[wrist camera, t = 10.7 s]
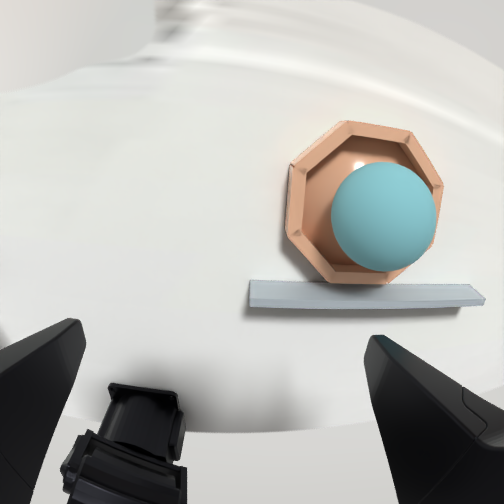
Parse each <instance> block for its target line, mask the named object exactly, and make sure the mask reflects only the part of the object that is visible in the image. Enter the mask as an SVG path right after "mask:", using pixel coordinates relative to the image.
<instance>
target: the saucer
mask: <svg viewBox="0 0 504 504" xmlns="http://www.w3.org/2000/svg"><path fill="white" fill-rule="evenodd" d="M375 162H391V163H395V164H399V165H401V166H404V167H406V168H408V169H410V170H411V171H413V172H414V173H415V174H416V175H418V176H419V177H420V178H421V179H422V180H423V181H424V183H425V184H426V186H427V187H428V189H429V190H430V192H431V194H432V197H433V200H434V203H435V207H436V228H437V223H438V217H439V212H440V206H441V200H442V194H443V188H444V186H443V182H442V180H441V178H440V177H439V175H438V173H437V172H436V170H435V168H434V166H433V165H432V163H431V161H430V160H429V158H428V157H427V155H426V153H425V152H424V150H423V149H422V147H421V145H420V144H419V142H418V141H417V139H416V138H415V136H414V135H413V133H412V132H410V131H407V130H402V129H397V128H391V127H386V126H380V125H374V124H368V123H362V122H355V121H341V122H338V123H337V124H336V125H335V126H334V127H332V128H331V129H330V130H329V131H328V132H326V133H325V134H324V135H323V136H322V137H320V138H319V139H318V140H317V141H316V142H314V143H313V144H312V145H311V146H310V147H308V148H307V149H306V150H305V151H304V152H303V153H301V154H300V155H299V156H298V157H297V158H296V159H294V160H293V161H292V162H291V164H292V165H290V167H289V181H288V194H287V207H286V220H285V230H286V233H287V236H288V238H289V239H290V240H291V241H292V243H293V244H294V245H295V246H296V247H297V248H298V249H299V250H300V251H301V253H302V254H303V255H304V256H305V257H306V258H307V259H308V260H309V261H310V263H311V264H312V265H313V266H314V267H315V268H316V269H317V270H318V272H319V273H320V274H321V275H322V276H323V277H324V278H325V280H326V281H327V282H329V283H343V284H386V283H390V282H391V281H392V280H393V279H394V278H396V277H397V276H398V275H399V274H400V273H402V272H403V271H404V270H405V269H406V268H407V267H409V266H410V265H409V266H407V267H404V268H402V269H399V270H395V271H384V272H383V271H375V270H371V269H368V268H365V267H363V266H361V265H359V264H358V263H356V262H354V261H353V260H352V259H351V258H350V257H348V256H347V254H346V253H345V252H344V251H343V250H342V248H341V247H340V245H339V244H338V242H337V240H336V238H335V235H334V232H333V228H332V223H331V208H332V203H333V199H334V196H335V194H336V191H337V189H338V188H339V186H340V184H341V183H342V182H343V180H344V179H345V178H346V177H347V176H348V175H349V174H350V173H352V172H353V171H354V170H356V169H358V168H359V167H361V166H364V165H366V164H370V163H375ZM435 233H436V229H435ZM435 233H434V236H433V239H432V241H431V243H430V245H429V247H428V248H427V250H428V249H429V248H430V247H431V246H432V245H431V244H433V242H434V237H435ZM427 250H426V251H427ZM426 251H425V252H426ZM425 252H424V253H425Z"/></svg>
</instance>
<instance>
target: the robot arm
mask: <svg viewBox="0 0 504 504" xmlns="http://www.w3.org/2000/svg"><path fill="white" fill-rule="evenodd" d="M85 348H86V339H85V335H84V331H83V327H82V323H81V321H80V320H79V319H73V318H67V319H65V320H63V321H61V322H59V323H56V324H54V325H52V326H50V327H48V328H46V329H44V330H41V331H39V332H37V333H35V334H33V335H31V336H29V337H27V338H25V339H22V340H20V341H18V342H16V343H14V344H12V345H10V346H8V347H6V348H4V349H2V350H0V504H30V501H31V498H32V495H33V490H34V488H35V485H36V481H37V478H38V475H39V472H40V469H41V467H42V464H43V460H44V458H45V455H46V452H47V450H48V447H49V444H50V442H51V439H52V436H53V433H54V431H55V428H56V426H57V423H58V421H59V418H60V416H61V413H62V411H63V409H64V406H65V404H66V401H67V399H68V397H69V394H70V392H71V390H72V387H73V385H74V382H75V379H76V376H77V372H78V369H79V366H80V363H81V360H82V357H83V354H84V351H85ZM364 366H365V371H366V377H367V382H368V387H369V393H370V398H371V403H372V407H373V410H374V414H375V417H376V420H377V424H378V427H379V431H380V434H381V437H382V441H383V445H384V448H385V452H386V456H387V459H388V463H389V466H390V470H391V474H392V478H393V482H394V486H395V490H396V494H397V498H398V502H399V504H504V410H502V409H500V408H498V407H497V406H495V405H493V404H491V403H489V402H488V401H486V400H484V399H482V398H481V397H479V396H478V395H476V394H474V393H473V392H471V391H470V390H468V389H467V388H465V387H462V385H460V384H459V383H457V382H456V381H454V380H453V379H451V378H450V377H448V376H446V375H445V374H443V373H442V372H440V371H439V370H437V369H436V368H434V367H433V366H431V365H429V364H428V363H426V362H425V361H423V360H422V359H420V358H419V357H417V356H416V355H414V354H413V353H411V352H409V351H408V350H406V349H405V348H403V347H402V346H400V345H399V344H397V343H396V342H394V341H392V340H391V339H389V338H388V337H386V336H385V335H372V336H371V337H370V339H369V342H368V345H367V349H366V352H365V355H364ZM108 390H109V394H110V397H111V402H110V405H109V407H108V409H107V412H106V414H105V416H104V419H103V421H102V424H101V426H100V428H99V431H98V433H97V434H95V433H94V432H93V431H91V430H89V429H87V431H86V433H85V435H78V437H77V439H76V441H75V444H74V446H73V448H72V450H71V451H70V453H69V454H68V456H67V458H66V459H65V460H64V462H63V464H62V465H61V468H60V472H61V474H62V476H63V483H64V485H63V491H64V492H65V493H68V494H70V496H69V499H68V502H67V504H187V468H186V467H183V466H177V465H173V461H178V460H180V457H181V451H182V446H183V440H184V434H185V430H186V426H185V419H184V413H183V412H182V410H180V408H179V401H178V395H177V394H176V393H175V392H172V391H165V390H157V389H149V388H142V387H135V386H128V385H122V384H116V383H110V384H109V386H108ZM171 396H172V397H171Z"/></svg>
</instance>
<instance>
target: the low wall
mask: <svg viewBox="0 0 504 504" xmlns="http://www.w3.org/2000/svg"><path fill="white" fill-rule="evenodd" d="M485 299H486V298H484V297H483V296H482V295H481V294H480V293H479V292H478V291H477V290H476V289H474V288H473V287H472V286H471V285H470V284H343V283H324V282H293V281H266V280H250V307H268V308H303V309H407V308H441V307H464V306H483V305H484V302H485Z"/></svg>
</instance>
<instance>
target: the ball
mask: <svg viewBox="0 0 504 504" xmlns="http://www.w3.org/2000/svg"><path fill="white" fill-rule="evenodd" d="M331 223H332V228H333V232H334V235H335V238H336V240H337V242H338V244H339V245H340V247H341V248H342V250H343V251H344V252H345V253H346V254H347V256H348V257H350V258H351V259H352V260H353V261H354V262H356V263H358V264H359V265H361V266H363V267H365V268H368V269H371V270H375V271H383V272H384V271H395V270H399V269H402V268H404V267H407V266H409V265H411V264H412V263H414V262H415V261H416V260H418V259H419V258H420V257H421V256H422V255H423V254H424V252H425V251H426V250H427V248H428V247H429V245H430V243H431V241H432V239H433V236H434V233H435V229H436V207H435V203H434V200H433V197H432V194H431V192H430V190H429V189H428V187H427V186H426V184H425V183H424V181H423V180H422V179H421V178H420V177H419V176H418V175H416V174H415V173H414V172H413V171H411V170H410V169H408V168H406V167H404V166H401V165H399V164H395V163H391V162H375V163H370V164H366V165H364V166H361V167H359V168H358V169H356V170H354V171H353V172H352V173H350V174H349V175H348V176H347V177H346V178H345V179H344V180H343V182H342V183H341V184H340V186H339V188H338V189H337V191H336V194H335V196H334V199H333V203H332V208H331Z"/></svg>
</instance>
